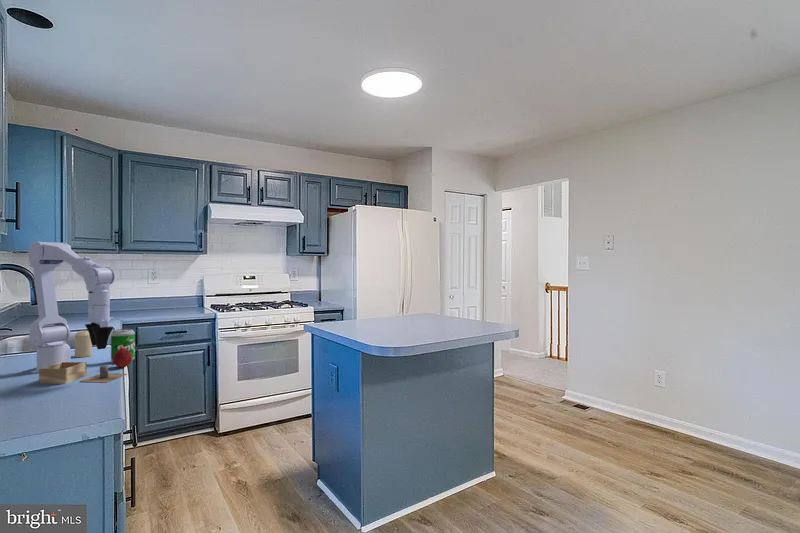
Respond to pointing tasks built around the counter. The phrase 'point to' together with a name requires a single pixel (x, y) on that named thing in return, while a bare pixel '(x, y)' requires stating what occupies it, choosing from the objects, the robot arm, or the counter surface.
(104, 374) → the lid
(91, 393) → the counter surface
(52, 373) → the box
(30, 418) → the counter surface
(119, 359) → the onion
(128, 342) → the soda can
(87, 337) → the candle
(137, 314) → the counter surface
